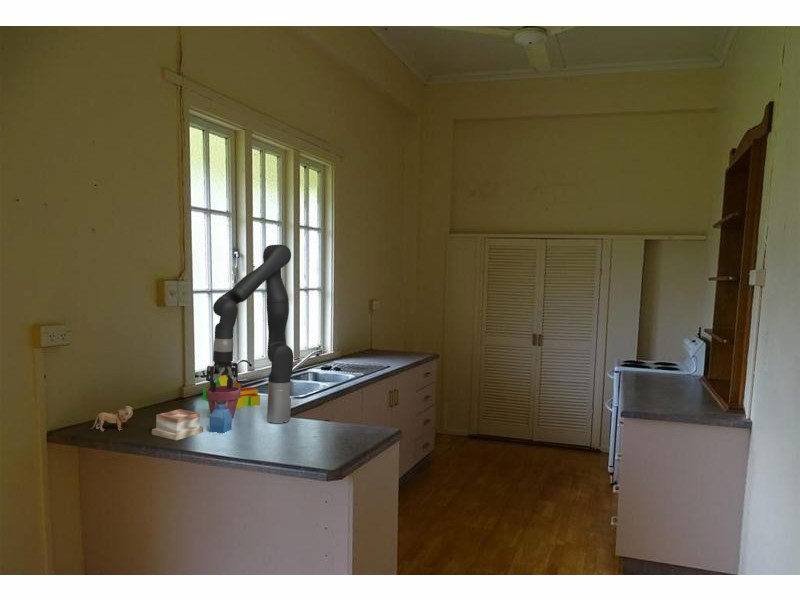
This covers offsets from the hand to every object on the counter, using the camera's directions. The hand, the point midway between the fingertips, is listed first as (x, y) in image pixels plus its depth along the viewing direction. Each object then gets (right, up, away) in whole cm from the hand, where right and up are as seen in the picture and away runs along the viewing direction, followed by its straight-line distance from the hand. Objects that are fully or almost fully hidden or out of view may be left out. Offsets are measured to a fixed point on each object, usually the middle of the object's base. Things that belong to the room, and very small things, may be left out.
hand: (221, 390), depth 215 cm
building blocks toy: (-10, -14, +49) cm, 52 cm away
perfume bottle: (-1, -16, +1) cm, 16 cm away
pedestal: (-15, -16, -6) cm, 22 cm away
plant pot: (-6, -15, +19) cm, 25 cm away
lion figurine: (-41, -15, -4) cm, 43 cm away
